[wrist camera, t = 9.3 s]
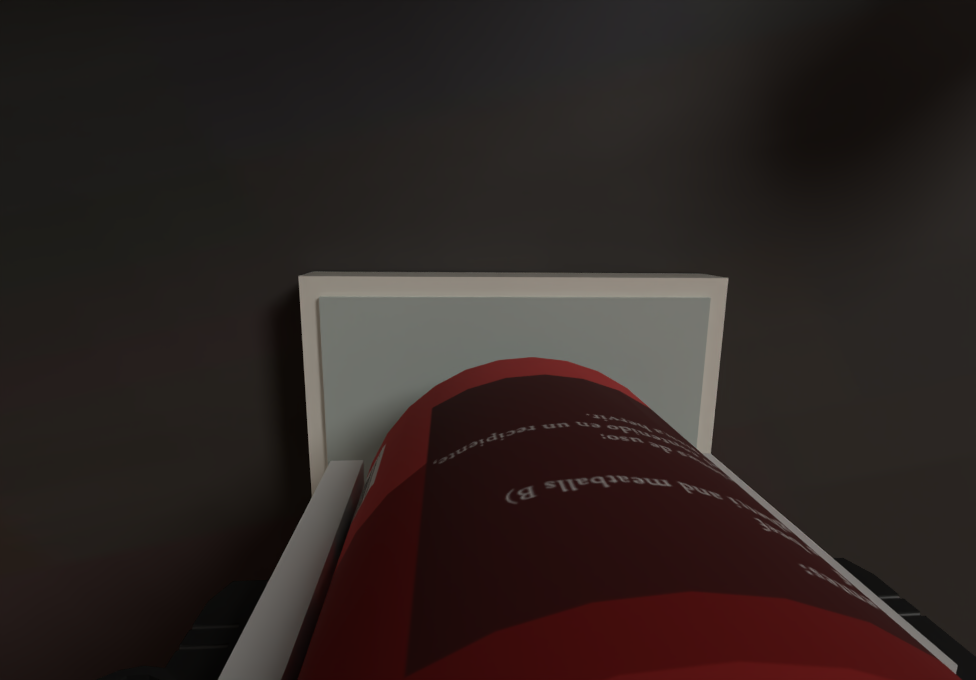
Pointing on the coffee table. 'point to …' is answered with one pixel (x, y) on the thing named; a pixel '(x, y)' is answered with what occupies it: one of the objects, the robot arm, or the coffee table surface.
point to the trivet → (500, 343)
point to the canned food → (580, 553)
